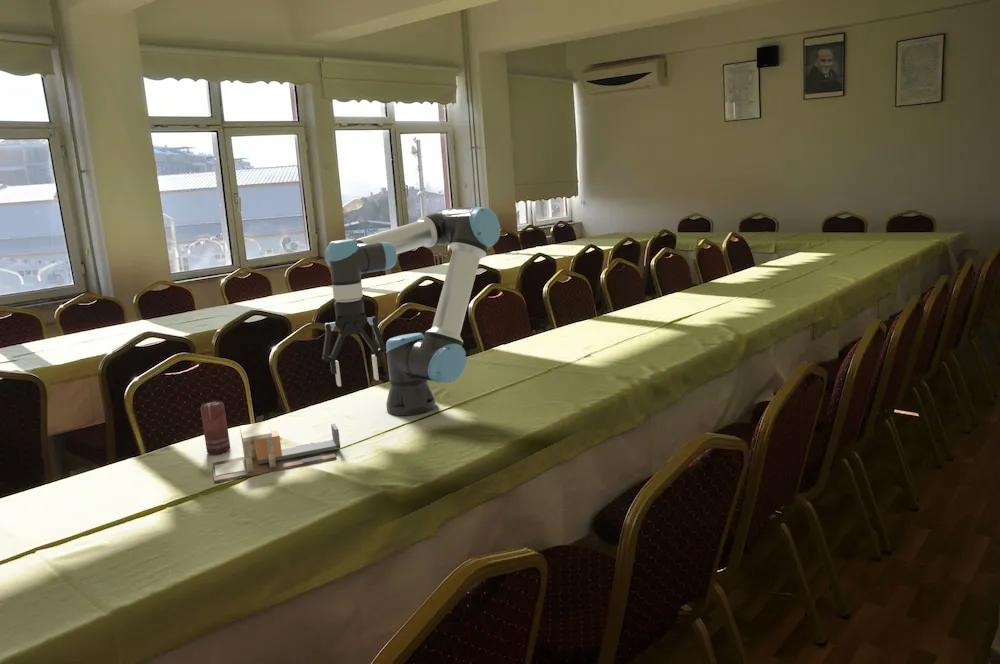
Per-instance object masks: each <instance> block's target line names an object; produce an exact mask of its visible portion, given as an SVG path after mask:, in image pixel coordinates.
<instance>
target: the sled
mask: <svg viewBox="0 0 1000 664" xmlns="http://www.w3.org/2000/svg"><path fill="white" fill-rule="evenodd" d="M330 427H331V434H332V435H331V436H332V439H331V440H325V441H319V442H313V443H314V444H311V443H307V444H308V445H306V444H302V445H303V446H301V445H297V446H298V447H296V446H293V447H288V448H282V446H281V438H280V434H279V431H278V430H271V433H272V440H273V447H274V454H275V461H278V460H283V459H288V458H294V457H299V456H304V455H309V454H314V453H319V452H325V451H330V450H333V451H334V450H340V449H341V441H340V434H339V433H340V431H339V428H338V426H337V425H336V423H332V424H331V425H330ZM254 441H255V448H256V455H257V460H258V464H262V463H268V462H269V458H268V450H267V443H266V438H262V439H257V440H254Z"/></svg>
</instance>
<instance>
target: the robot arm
mask: <svg viewBox="0 0 1000 664" xmlns="http://www.w3.org/2000/svg"><path fill="white" fill-rule="evenodd" d="M416 219H417V218H416ZM500 237H501V225H500V221H499V219H498V216H497V215H496V213H495V212H494V211H493V210H492V209H491V208H488V207H484V206H477V205H476V206H469V207H468V206H467V207H465V206H464V207H448V208H444V209H441V210H438V211H436V212H432V213H430V214H429V213H428V214H427V215H424V216H421V217H418V219H417V220H416V221H414V222H412V223H408V224H404V225H402V226H401V225H400V226H397V227H394V228H391V229H386V230H384V231H380V232H377V233H374V234H368V235H365V236H363V237H359V238H356V239H352V238H350V239H348V238H347V239H341V240H340V239H339V240H332V241H330V242H329V243H328V245H327V247H326V249H325V251H324V260H325V264H326V265H327V266H328V267H329V271H330V278H331V286H332V294H333V295H332V296H333V300H335V301H334V302H333V303H334V304H333V305H334V313H335V319H334V321H333V322H325V323H324V330H325V333H324V334H325V335H324V341H323V349H322V354H321V355H322V356H321V359H322V360H323V361H324V362H329V364H330V365H329V367H330V372H331V374H332V375H335V383H336V385H337V386H338V387H342V379H341V371H340V364H339V361H338V360H337V357H338V355H339V353H340V350H341V349H342V345H343V344H344V343H343V342H344V341H345V339H346V337H347V336H352V335H360V336H361V337H362V338H363V339H364V341H365V342H366V344H367V345H368V347H369V348H370V349H371V351H372V353H373V354H371V363H372V372H373V379H374V380H375V381H380V380H379V369H378V368H381V366H382V362H381V361H382V359H381V355H382V354H384V353H386V360H387V368H388V369H387V371H388V377H389V379H388V380H389V389H388V394H387V399H386V412H387V413H389V414H391V415H396V416H413V415H420V414H424V413H427V412H430V411H432V410H434V409H435V408H436V406H437V403H436V397H435V395H434V393H433V390H432V388H431V386H430V384H429V381H431V382H434V383H437V384H440V383H441V384H443V383H445V384H447V383H452V382H455V380H457V379H458V378H460V377H461V376H462V375H463V373H464V371H465V368H466V365H467V361H468V360H467V358H468V357H467V356H466V355H467V353H466V350H465V348H464V347H463V345H464V340H463V339H462V337H461V332H462V329H463V326H464V325H463V324H464V321H465V319H466V318H465V316H466V312H467V310H468V307H469V306H468V305H469V302H470V299H471V295H472V290H473V287H474V282H475V280H476V276H477V272H478V268H479V264H480V262H481V261H480V260H481V259H484V258H485V257H486V256H487V253H488V250H489V248H490V247H492V246H495V244H497V243H498V241H499V240H500ZM435 246H449V248H450V250H451V255H450V259H449V263H448V267H447V271H446V275H445V278H444V282H443V285H442V290H441V292H440V295H439V301H438V303H437V307H436V312H435V315H434V318H433V322H432V326H431V327H430V329H428V330H426V331H425V333H424V334H423V333H422V332H414V333H407V334H406V333H405V334H401V335H397V336H393V337H391V338H389V339H387V341H386V344H385V341H384V339H383V337H382V333H381V332H380V328H379V326H378V324H379V322H378V321H379V320H378V318H377V317H376V316H375V315H373V316H371V317H367V315H366V313H365V304H364V303H365V302H364V299H363V295H364V293H363V287H362V275H364V274H369V273H375V272H380V271H381V272H382V271H387V270H390V269H392V268H393V267H395V265H396V264H397V261H398V254H402V253H406V252H409V251H411V250H414V249H418V248H420V247H425V248H431V247H435ZM367 323H368V325H370V326H371V329H372V331H373V334H374V336H375V339H376V342H377V344H378V347H379V348H378V347H377V345H376V344H375V343H374V342H373V341H372V339H371V337H370V336H369V335H368V334H367V331H366V330H365V326H366V324H367ZM335 327H337V329H338V330H339V332H338V335H337V339H336V341H335V343H334V345H333V348H332V351H331V353H330V349H331V342H332V336H333V335H332V333H333V331H334V330H335Z"/></svg>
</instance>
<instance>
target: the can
mask: <svg viewBox="0 0 1000 664" xmlns="http://www.w3.org/2000/svg"><path fill="white" fill-rule="evenodd" d="M199 410H200V415H201V420H202V421H201V422H202V428H203V434H204V441H205V447H206V453H207V454H208V455H211V456H219V455H223V454H227V453H228V452H229V451H230V450H231V444H230V443H231V442H230V436H229V429H228V424H227V423H228V422H227V415H226V410H225V404H224V403H223V401H222V400H210V401H206V402H203V403H201V406H200V409H199Z"/></svg>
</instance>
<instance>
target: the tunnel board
mask: <svg viewBox="0 0 1000 664" xmlns="http://www.w3.org/2000/svg"><path fill="white" fill-rule="evenodd" d="M239 429H240V438H241V442H242V443H241V445H242V450H243V451H242V452H243V456H241V457H236V458H231V459H225V460H220V461H219V460H218V461H214V462H212V472H213V481H214V483H215V482H218V483H221V481H223V482H227V480H228V481H232V480H231V479H233V480H237V479H236V478H238V479H241V478H240V477H243V478H246V477H252V476H259V475H263V474H267V473H272V472H278V471H282V470H283V471H284V470H288V469H292V468H298V467H303V466H308V465H314V464H318V463H323V462H328V461H333V460H337V456H336V453H335V452H334V450H330V451H325V452H319V453H314V454H309V455H304V456H299V457H294V458H288V459H283V460H278V461H275V454H274V447H273V440H272V433H271V431H272V430H271V427H270V425H269V422H268V421H266V420H265V421H261V422H255V423H251V424H243V425H240V426H239ZM262 438H266V443H267V450H268V458H269V462H268V463H262V464H258V460H257V455H256V448H255V441H254V440H257V439H262ZM314 443H315V442H313V443H310V444H314ZM308 444H309V443H307V444H305V445H308ZM303 445H304V444H301V445H300V446H303ZM298 446H299V445H296V446H295V447H298Z"/></svg>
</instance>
